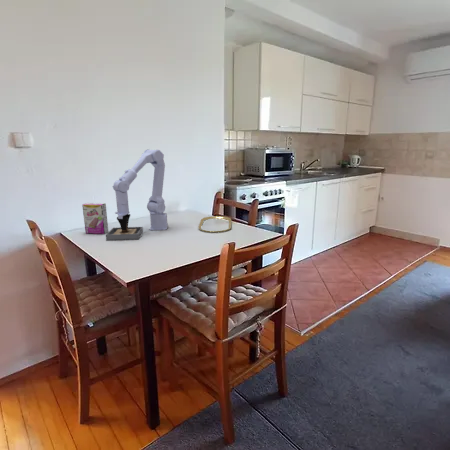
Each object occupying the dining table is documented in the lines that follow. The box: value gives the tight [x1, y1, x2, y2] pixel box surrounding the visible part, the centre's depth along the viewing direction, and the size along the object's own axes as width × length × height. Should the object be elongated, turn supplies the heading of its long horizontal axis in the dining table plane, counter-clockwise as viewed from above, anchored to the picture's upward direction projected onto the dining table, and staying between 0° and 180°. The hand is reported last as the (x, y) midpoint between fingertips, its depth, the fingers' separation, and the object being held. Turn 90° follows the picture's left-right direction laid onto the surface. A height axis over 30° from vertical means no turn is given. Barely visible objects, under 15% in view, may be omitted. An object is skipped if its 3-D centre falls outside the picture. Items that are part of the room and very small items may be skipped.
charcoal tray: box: [105, 226, 144, 242], centre depth 172 cm, size 16×14×3 cm
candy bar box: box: [81, 202, 109, 235], centre depth 177 cm, size 11×5×16 cm, turn 84°
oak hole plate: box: [114, 229, 137, 234], centre depth 172 cm, size 10×10×2 cm
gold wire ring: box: [197, 215, 232, 234], centre depth 194 cm, size 19×35×2 cm, turn 179°
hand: (124, 229), depth 172 cm, fingers closed on walnut peg, 3 cm apart
